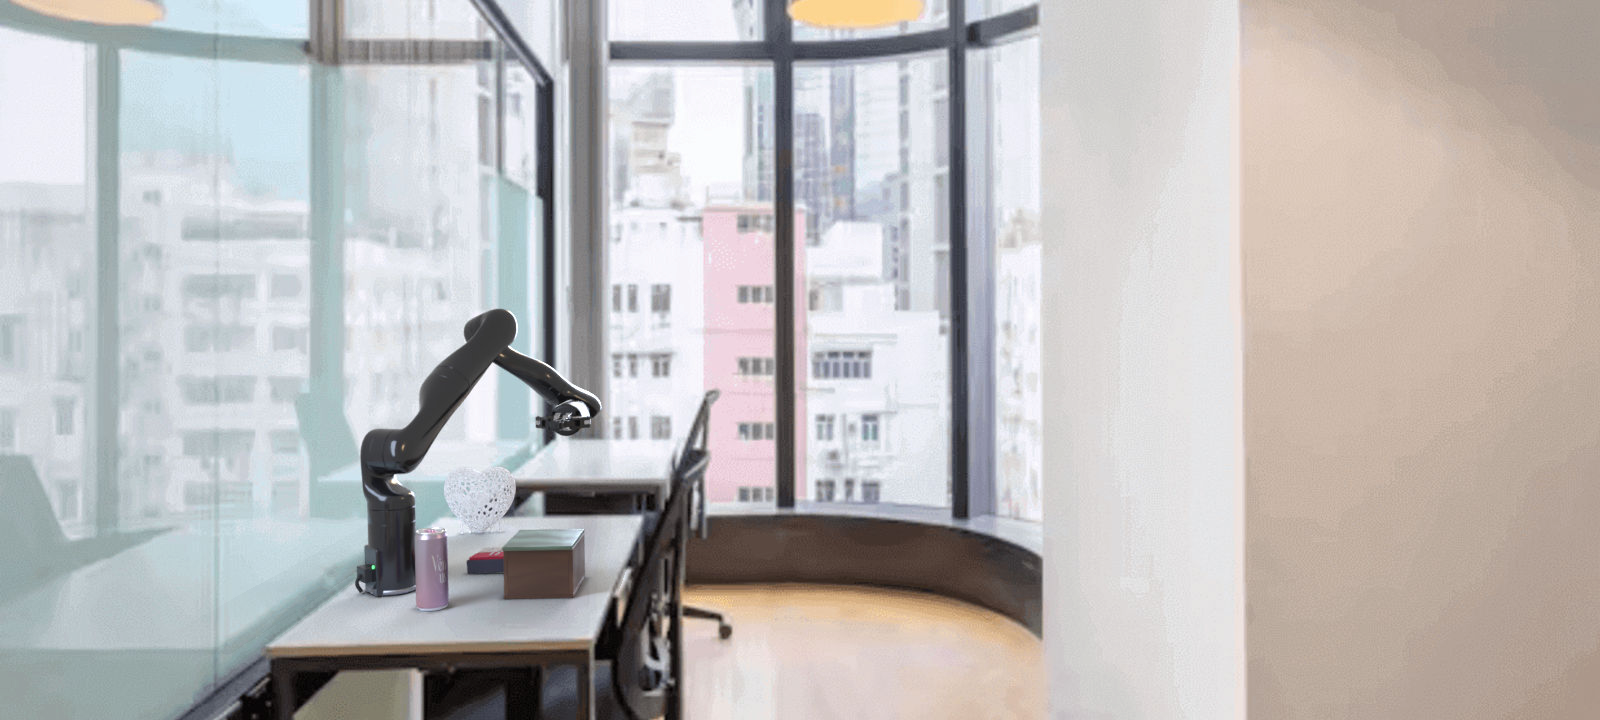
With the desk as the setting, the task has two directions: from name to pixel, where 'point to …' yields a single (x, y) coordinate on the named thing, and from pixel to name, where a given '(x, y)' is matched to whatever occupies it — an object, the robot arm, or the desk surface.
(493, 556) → the calculator
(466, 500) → the decorative heart
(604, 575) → the desk surface
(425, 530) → the beverage can
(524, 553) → the chest
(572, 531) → the lid
